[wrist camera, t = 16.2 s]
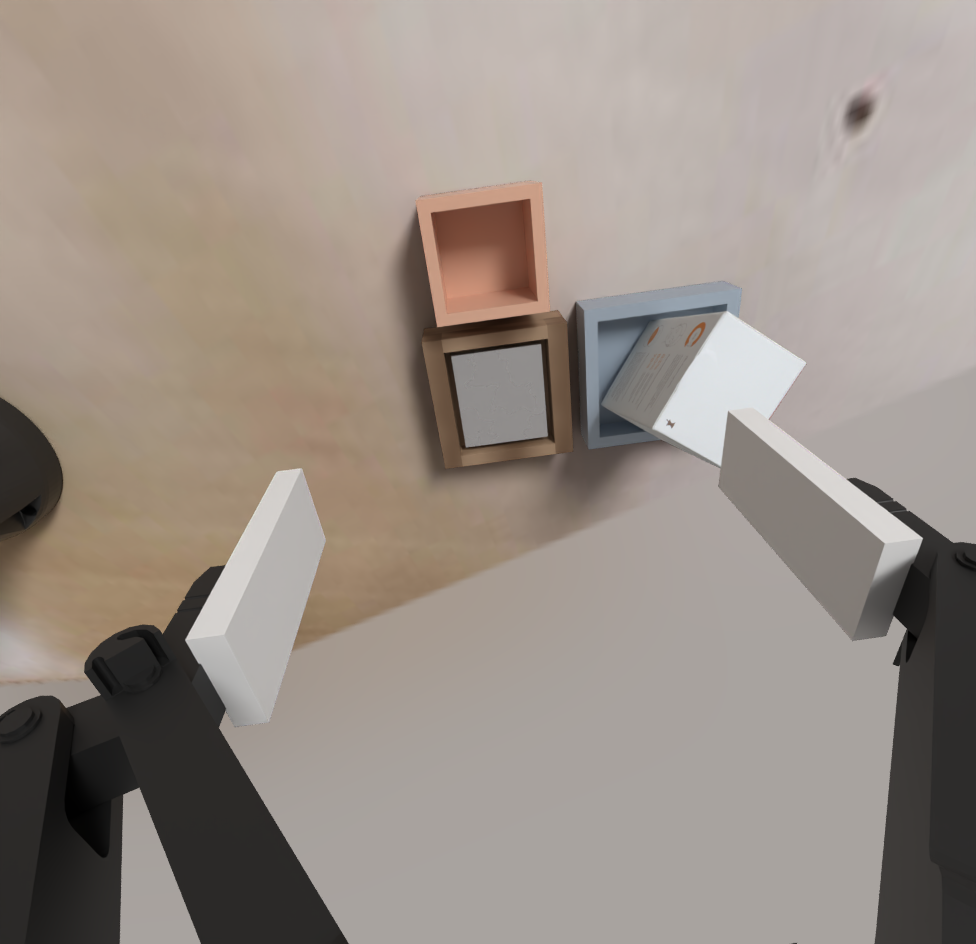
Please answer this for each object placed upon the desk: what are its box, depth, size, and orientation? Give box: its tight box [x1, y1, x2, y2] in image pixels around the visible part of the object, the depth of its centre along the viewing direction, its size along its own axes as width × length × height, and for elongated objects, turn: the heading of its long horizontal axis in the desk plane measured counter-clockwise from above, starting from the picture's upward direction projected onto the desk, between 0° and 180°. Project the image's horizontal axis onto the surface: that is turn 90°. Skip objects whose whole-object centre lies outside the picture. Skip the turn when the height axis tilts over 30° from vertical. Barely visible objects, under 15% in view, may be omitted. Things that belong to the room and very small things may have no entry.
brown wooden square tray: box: [422, 310, 573, 469], centre depth 44 cm, size 11×11×4 cm
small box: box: [601, 311, 806, 468], centre depth 38 cm, size 8×6×13 cm
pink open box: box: [416, 181, 550, 327], centre depth 38 cm, size 8×8×6 cm
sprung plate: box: [451, 340, 548, 447], centre depth 43 cm, size 7×8×1 cm
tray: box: [576, 281, 742, 449], centre depth 44 cm, size 12×12×3 cm
